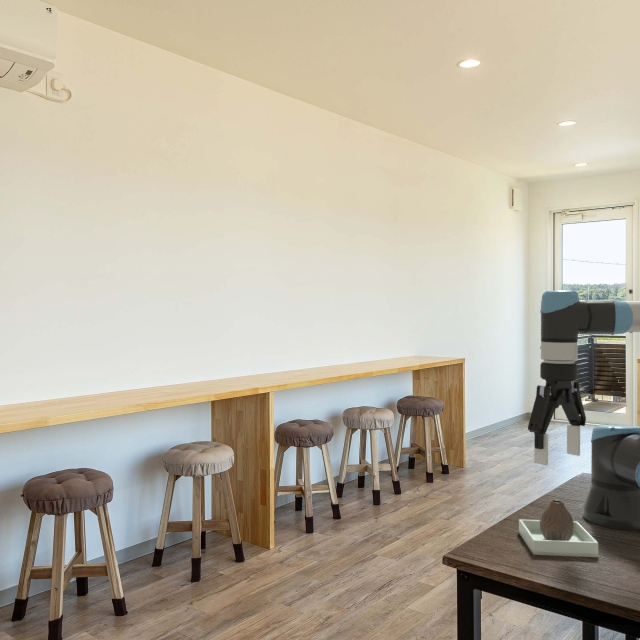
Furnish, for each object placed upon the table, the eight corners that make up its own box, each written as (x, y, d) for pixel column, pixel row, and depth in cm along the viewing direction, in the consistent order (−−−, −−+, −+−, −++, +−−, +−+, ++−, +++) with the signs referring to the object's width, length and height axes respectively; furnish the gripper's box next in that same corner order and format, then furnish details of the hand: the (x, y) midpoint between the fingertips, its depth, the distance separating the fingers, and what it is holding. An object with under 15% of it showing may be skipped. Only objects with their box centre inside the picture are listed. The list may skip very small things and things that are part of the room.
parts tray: (577, 534, 140) (577, 521, 140) (597, 557, 127) (598, 542, 127) (518, 532, 141) (518, 519, 141) (533, 554, 128) (533, 540, 128)
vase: (580, 542, 134) (580, 502, 133) (561, 549, 130) (561, 508, 129) (551, 533, 139) (552, 494, 139) (533, 539, 135) (533, 499, 135)
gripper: (571, 358, 145) (570, 448, 145) (511, 363, 129) (510, 464, 129) (602, 360, 139) (601, 453, 139) (544, 365, 123) (543, 471, 123)
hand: (557, 459), depth 134 cm, fingers open, 13 cm apart
